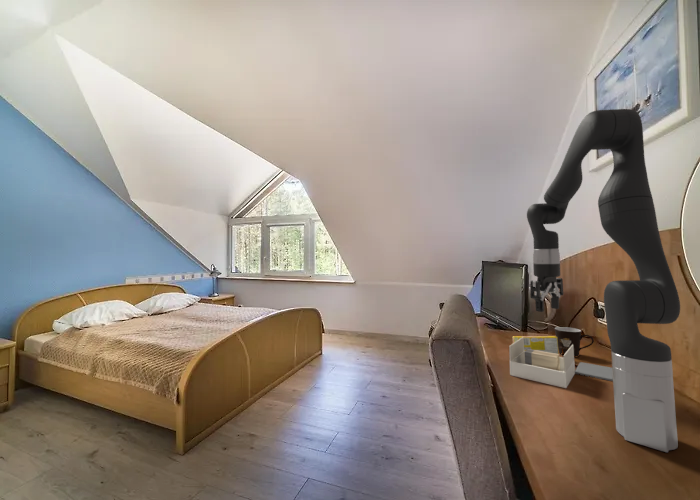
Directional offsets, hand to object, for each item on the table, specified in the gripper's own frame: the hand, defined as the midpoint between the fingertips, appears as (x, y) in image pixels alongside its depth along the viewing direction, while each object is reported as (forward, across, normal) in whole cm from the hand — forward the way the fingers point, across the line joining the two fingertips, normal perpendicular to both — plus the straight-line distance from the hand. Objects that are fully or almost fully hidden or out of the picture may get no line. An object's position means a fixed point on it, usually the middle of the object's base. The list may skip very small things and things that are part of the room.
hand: (547, 309), depth 98 cm
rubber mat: (+21, +14, -8) cm, 27 cm away
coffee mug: (+23, +26, +6) cm, 35 cm away
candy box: (+23, +12, +12) cm, 28 cm away
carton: (+21, -3, 0) cm, 21 cm away
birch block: (+21, -3, 0) cm, 21 cm away
